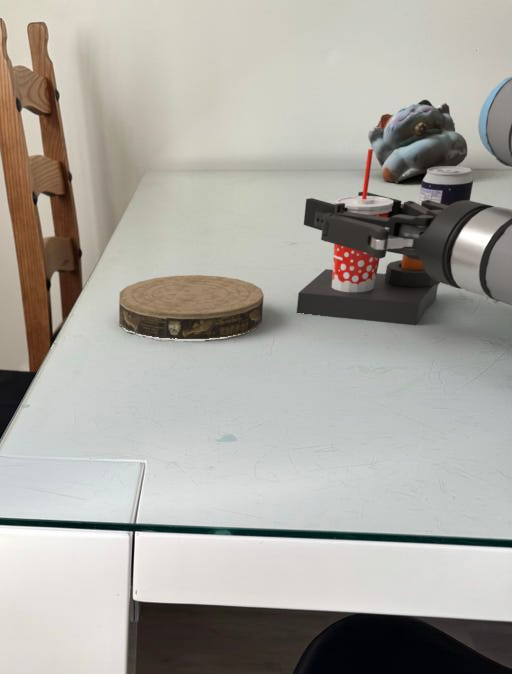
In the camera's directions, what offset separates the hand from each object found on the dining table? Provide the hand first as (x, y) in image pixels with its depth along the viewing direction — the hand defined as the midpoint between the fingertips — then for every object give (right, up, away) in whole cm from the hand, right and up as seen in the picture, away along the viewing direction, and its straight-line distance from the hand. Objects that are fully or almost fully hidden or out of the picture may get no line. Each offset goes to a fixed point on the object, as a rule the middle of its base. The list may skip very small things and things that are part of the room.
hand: (334, 208), depth 112 cm
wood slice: (-16, -13, +1) cm, 21 cm away
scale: (+4, -10, +2) cm, 11 cm away
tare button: (+9, -7, +1) cm, 11 cm away
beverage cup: (+2, -9, 0) cm, 9 cm away
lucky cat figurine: (+34, +34, +66) cm, 81 cm away
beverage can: (+16, -3, +12) cm, 20 cm away
